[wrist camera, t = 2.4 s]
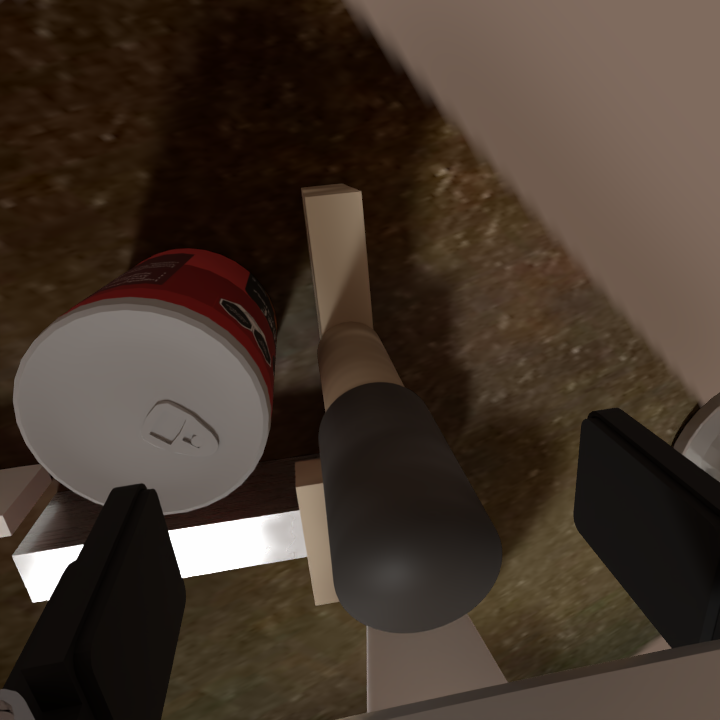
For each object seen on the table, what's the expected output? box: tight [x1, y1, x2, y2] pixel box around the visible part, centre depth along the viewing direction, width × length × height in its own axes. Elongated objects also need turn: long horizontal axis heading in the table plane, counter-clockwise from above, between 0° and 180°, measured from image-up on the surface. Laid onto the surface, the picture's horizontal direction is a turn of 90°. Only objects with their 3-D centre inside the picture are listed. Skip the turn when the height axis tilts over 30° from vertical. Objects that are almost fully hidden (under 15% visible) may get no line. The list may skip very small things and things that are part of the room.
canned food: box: [13, 248, 277, 515], centre depth 21 cm, size 8×8×11 cm
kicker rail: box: [12, 453, 320, 602], centre depth 28 cm, size 22×3×5 cm, turn 95°
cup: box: [367, 614, 508, 713], centre depth 30 cm, size 9×9×12 cm
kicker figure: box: [295, 184, 502, 633], centre depth 19 cm, size 6×19×18 cm, turn 5°
